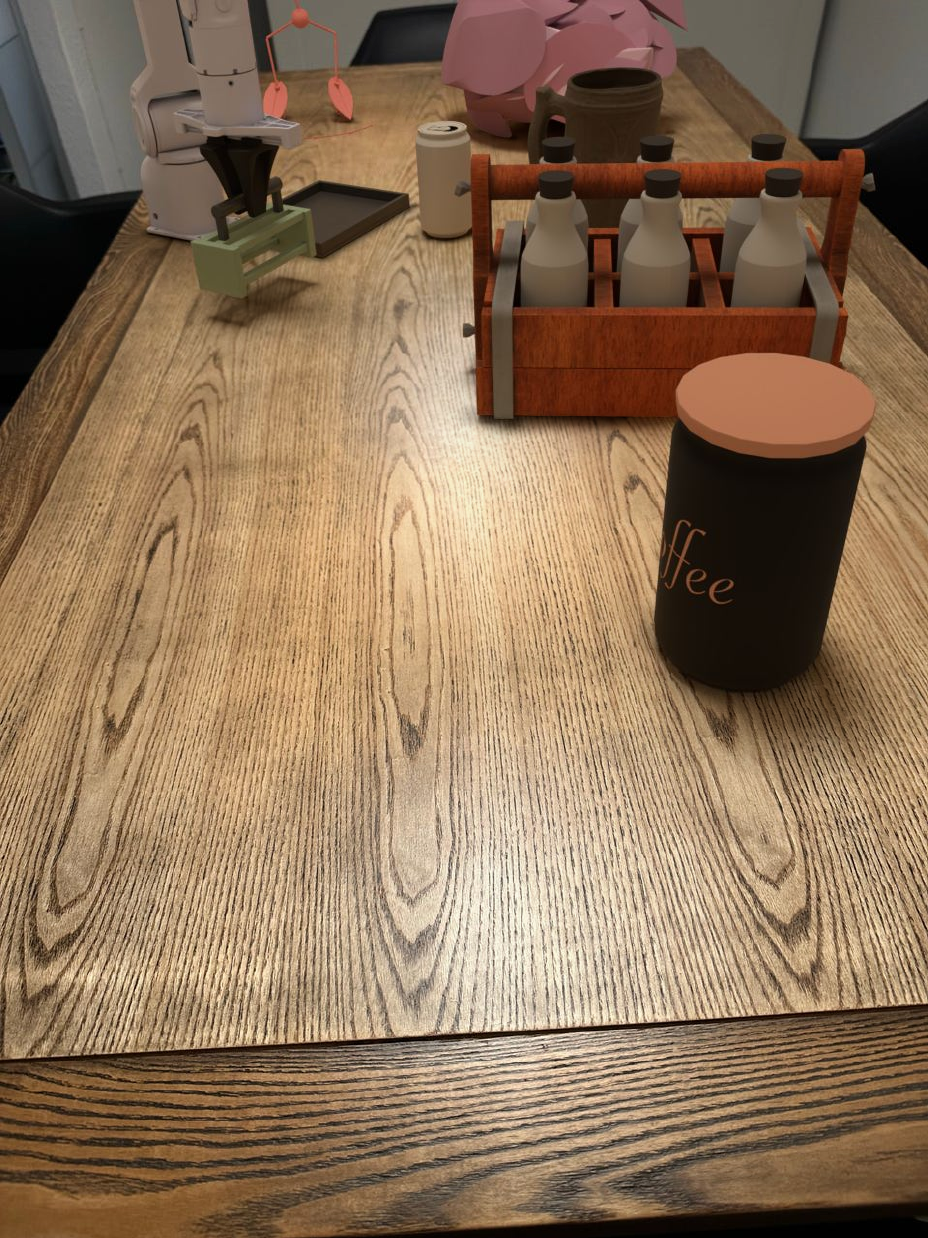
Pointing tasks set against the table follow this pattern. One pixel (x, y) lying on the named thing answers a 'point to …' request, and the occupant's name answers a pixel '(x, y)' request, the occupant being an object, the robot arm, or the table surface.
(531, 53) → the flower arrangement
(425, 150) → the beverage can
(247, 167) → the robot arm
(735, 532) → the coffee jar
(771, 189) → the milk bottle holder
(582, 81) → the beer stein
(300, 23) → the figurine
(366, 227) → the tray
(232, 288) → the green tool caddy
